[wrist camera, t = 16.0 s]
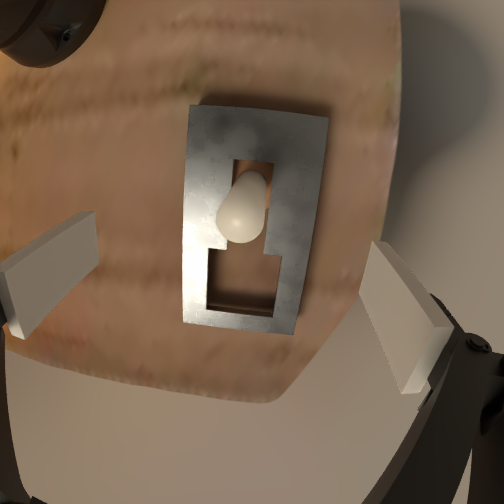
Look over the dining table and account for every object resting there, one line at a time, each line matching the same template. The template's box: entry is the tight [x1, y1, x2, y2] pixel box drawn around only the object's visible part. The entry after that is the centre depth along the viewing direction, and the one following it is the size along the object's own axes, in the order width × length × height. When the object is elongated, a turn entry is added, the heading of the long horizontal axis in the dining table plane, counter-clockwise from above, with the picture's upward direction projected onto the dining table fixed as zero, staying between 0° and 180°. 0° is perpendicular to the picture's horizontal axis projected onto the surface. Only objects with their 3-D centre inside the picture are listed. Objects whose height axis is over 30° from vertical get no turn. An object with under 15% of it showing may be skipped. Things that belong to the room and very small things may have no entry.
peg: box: [216, 159, 274, 243], centre depth 26 cm, size 6×6×14 cm
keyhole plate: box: [183, 105, 329, 335], centre depth 33 cm, size 24×13×3 cm, turn 174°
